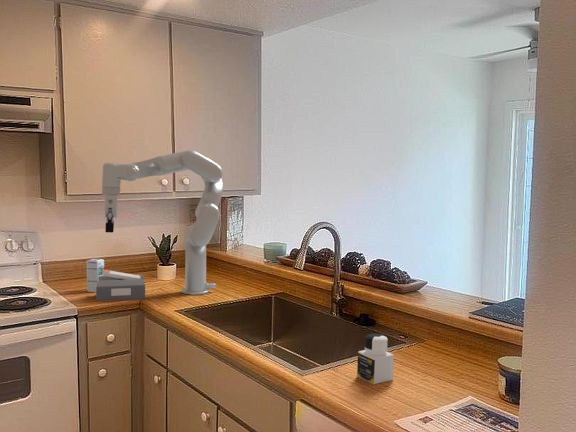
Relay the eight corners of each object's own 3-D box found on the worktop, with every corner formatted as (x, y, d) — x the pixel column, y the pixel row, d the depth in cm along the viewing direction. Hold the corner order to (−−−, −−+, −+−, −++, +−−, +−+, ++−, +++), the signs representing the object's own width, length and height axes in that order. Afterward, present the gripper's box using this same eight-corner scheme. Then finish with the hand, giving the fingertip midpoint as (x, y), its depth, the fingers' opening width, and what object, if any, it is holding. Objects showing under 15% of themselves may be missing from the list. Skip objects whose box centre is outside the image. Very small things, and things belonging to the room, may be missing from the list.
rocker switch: (139, 278, 244) (139, 275, 244) (139, 281, 238) (140, 278, 238) (102, 272, 239) (103, 269, 239) (101, 275, 233) (102, 271, 233)
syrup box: (98, 292, 247) (98, 260, 246) (86, 291, 248) (86, 260, 247) (104, 289, 252) (104, 259, 251) (93, 289, 253) (93, 258, 252)
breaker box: (143, 292, 248) (143, 274, 247) (145, 298, 236) (145, 279, 236) (97, 294, 242) (97, 276, 241) (96, 301, 230) (96, 281, 230)
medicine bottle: (356, 376, 151) (357, 333, 150) (376, 371, 154) (377, 330, 153) (373, 385, 145) (375, 340, 144) (393, 380, 148) (395, 337, 147)
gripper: (120, 192, 228) (118, 233, 229) (120, 191, 244) (118, 229, 245) (101, 192, 226) (99, 233, 227) (102, 190, 242) (101, 228, 243)
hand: (109, 231), depth 236 cm, fingers open, 9 cm apart
